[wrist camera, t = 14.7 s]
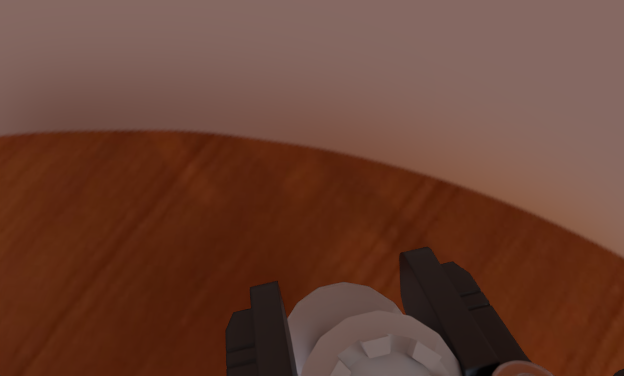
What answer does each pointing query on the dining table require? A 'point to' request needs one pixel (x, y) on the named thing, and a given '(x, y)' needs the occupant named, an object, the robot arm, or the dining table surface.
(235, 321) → the robot arm
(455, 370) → the rook chess piece
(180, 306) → the dining table surface
